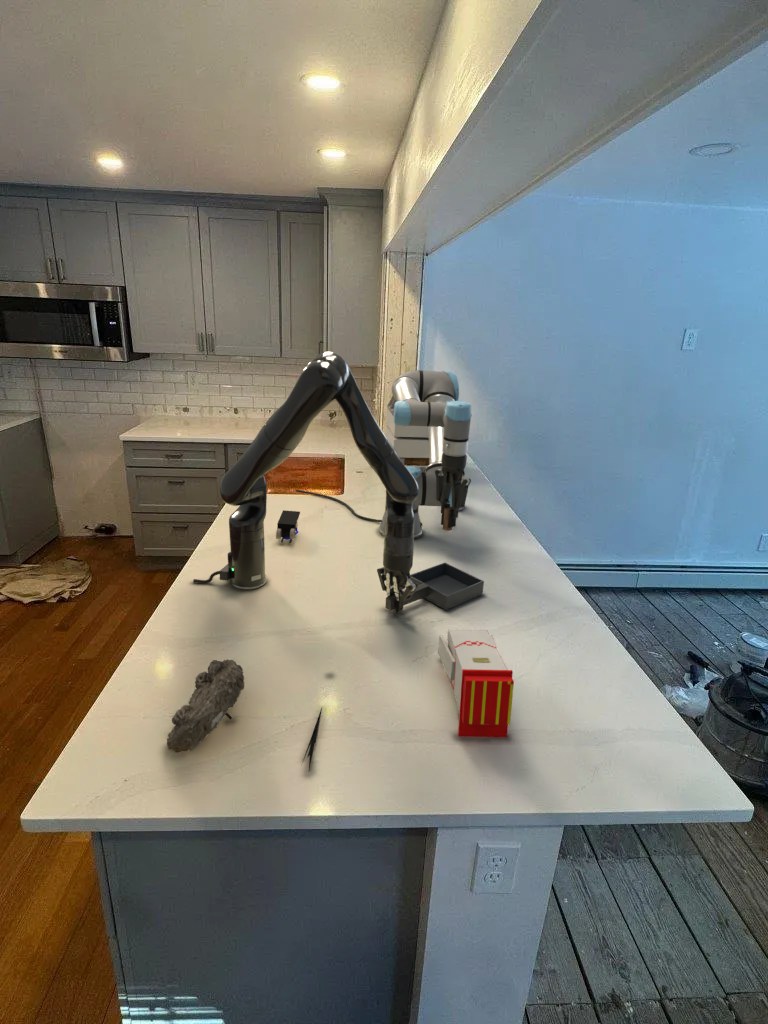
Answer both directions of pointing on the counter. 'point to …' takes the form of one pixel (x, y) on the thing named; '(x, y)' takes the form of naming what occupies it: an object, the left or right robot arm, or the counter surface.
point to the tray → (442, 587)
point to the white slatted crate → (407, 440)
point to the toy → (478, 682)
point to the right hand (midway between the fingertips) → (448, 525)
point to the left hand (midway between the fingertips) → (394, 609)
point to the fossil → (206, 705)
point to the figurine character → (287, 525)
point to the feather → (313, 740)
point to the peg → (446, 519)
